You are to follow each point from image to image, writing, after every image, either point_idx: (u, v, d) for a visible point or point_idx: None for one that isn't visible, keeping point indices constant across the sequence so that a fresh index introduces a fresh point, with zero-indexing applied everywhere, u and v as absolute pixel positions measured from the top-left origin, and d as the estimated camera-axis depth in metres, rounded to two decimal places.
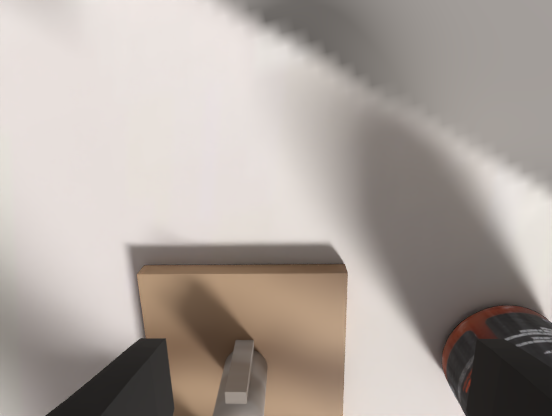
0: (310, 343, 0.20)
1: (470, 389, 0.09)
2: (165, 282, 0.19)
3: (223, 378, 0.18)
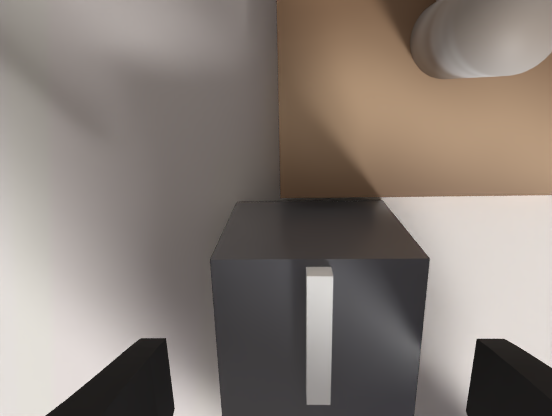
0: None
1: (470, 389, 0.09)
2: None
3: (441, 2, 0.10)
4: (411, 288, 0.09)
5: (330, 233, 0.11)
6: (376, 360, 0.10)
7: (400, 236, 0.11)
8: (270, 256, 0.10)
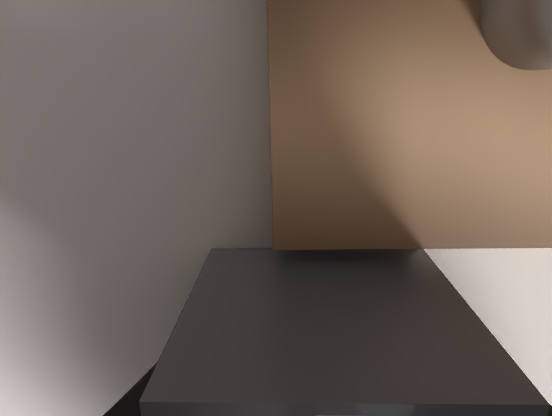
0: None
1: None
2: None
3: None
4: None
5: (353, 324, 0.07)
6: None
7: (474, 335, 0.06)
8: (251, 390, 0.05)
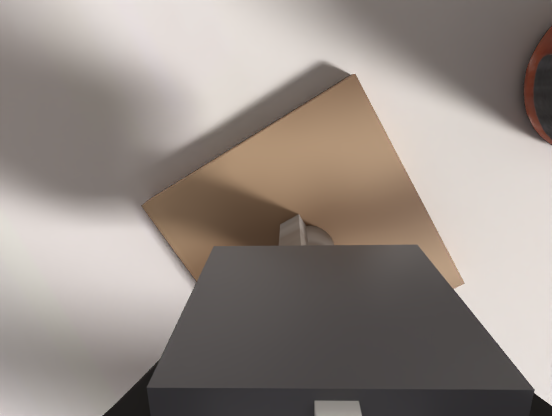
0: (362, 183, 0.16)
1: None
2: (173, 198, 0.16)
3: None
4: None
5: (350, 317, 0.07)
6: None
7: (465, 326, 0.07)
8: (252, 377, 0.06)
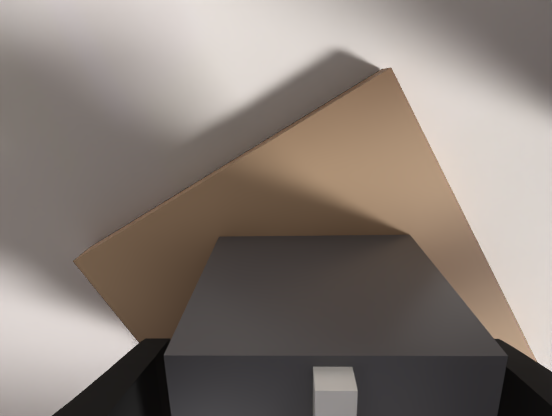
0: (397, 231, 0.11)
1: None
2: (118, 251, 0.11)
3: None
4: (476, 398, 0.06)
5: (346, 297, 0.08)
6: None
7: (450, 304, 0.07)
8: (258, 347, 0.06)
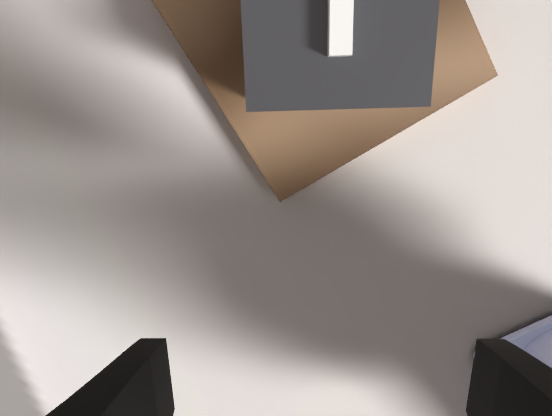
0: None
1: (470, 389, 0.09)
2: None
3: None
4: None
5: None
6: (396, 16, 0.10)
7: None
8: None
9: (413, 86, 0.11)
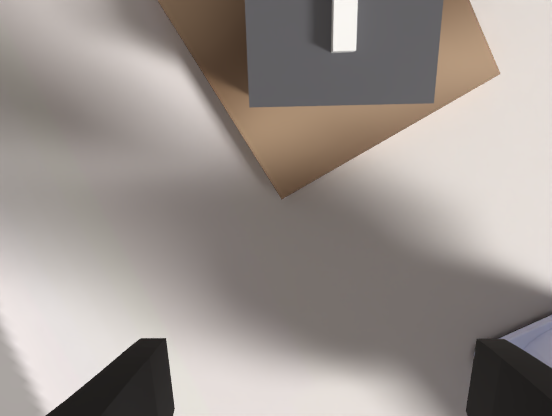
0: None
1: (470, 389, 0.09)
2: None
3: None
4: None
5: None
6: (400, 12, 0.10)
7: None
8: None
9: (416, 82, 0.11)
